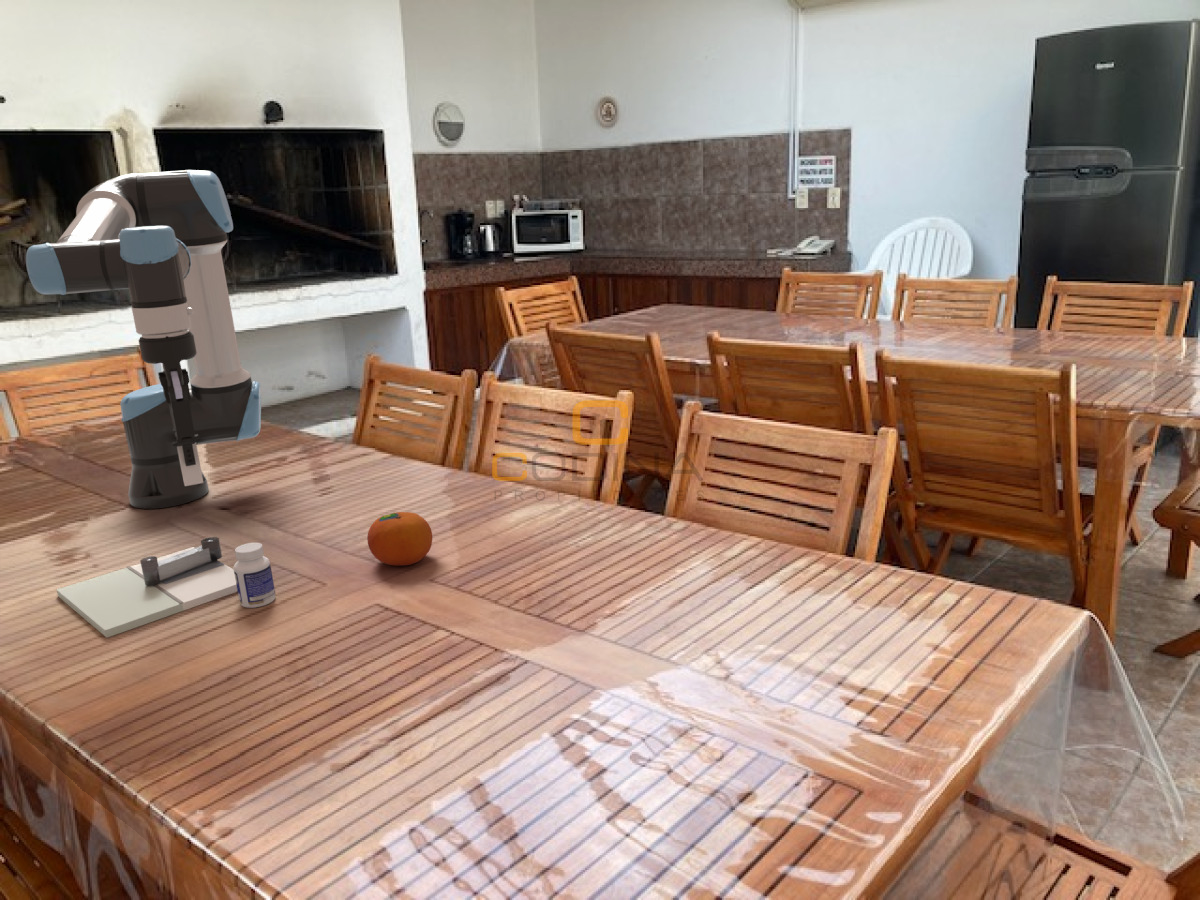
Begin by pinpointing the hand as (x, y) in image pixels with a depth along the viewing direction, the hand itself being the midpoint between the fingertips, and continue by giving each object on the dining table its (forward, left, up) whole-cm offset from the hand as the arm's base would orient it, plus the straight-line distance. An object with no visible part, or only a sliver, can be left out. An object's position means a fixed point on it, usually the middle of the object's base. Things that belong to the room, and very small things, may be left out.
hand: (193, 483), depth 146 cm
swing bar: (+2, -5, -16) cm, 17 cm away
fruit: (-25, +17, -17) cm, 35 cm away
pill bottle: (-2, +12, -17) cm, 21 cm away
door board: (+7, -5, -17) cm, 19 cm away
